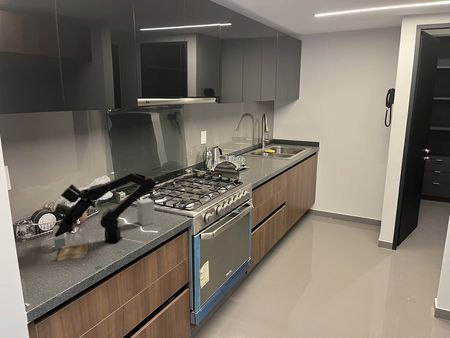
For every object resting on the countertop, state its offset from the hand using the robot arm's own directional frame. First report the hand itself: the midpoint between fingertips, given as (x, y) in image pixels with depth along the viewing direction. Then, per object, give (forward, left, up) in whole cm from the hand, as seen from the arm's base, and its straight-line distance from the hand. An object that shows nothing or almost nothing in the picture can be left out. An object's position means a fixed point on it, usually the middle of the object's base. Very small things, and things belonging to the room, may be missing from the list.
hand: (56, 234), depth 156 cm
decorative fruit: (+9, -27, -7) cm, 29 cm away
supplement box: (-26, -37, -7) cm, 46 cm away
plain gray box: (-1, -1, -7) cm, 7 cm away
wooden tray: (-11, +4, -7) cm, 14 cm away
